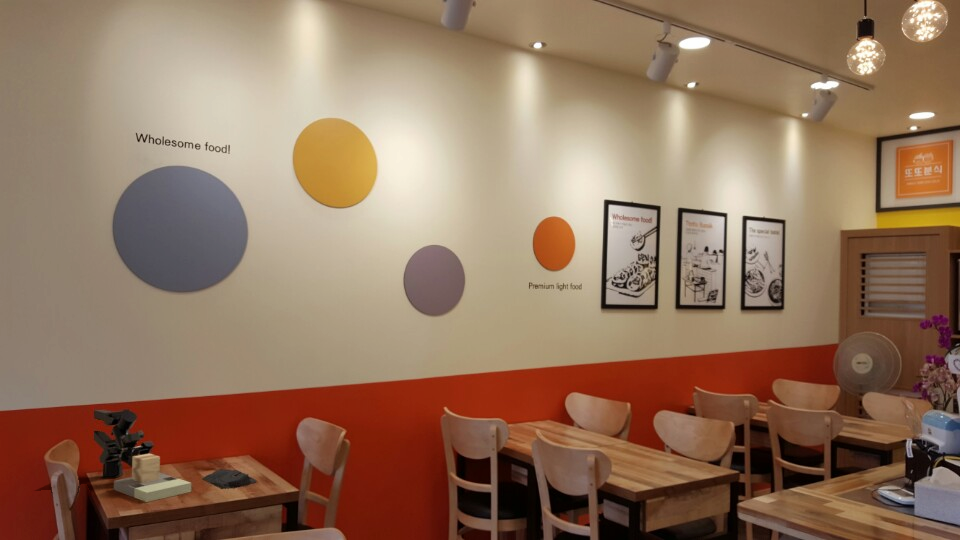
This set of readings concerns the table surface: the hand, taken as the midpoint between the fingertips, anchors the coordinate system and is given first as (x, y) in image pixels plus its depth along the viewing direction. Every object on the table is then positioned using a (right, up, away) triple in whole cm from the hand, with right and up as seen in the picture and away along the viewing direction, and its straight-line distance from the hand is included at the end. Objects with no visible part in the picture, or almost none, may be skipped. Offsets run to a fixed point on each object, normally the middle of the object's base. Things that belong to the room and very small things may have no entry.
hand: (135, 468), depth 288 cm
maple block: (+6, -3, -5) cm, 9 cm away
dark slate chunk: (+35, -8, +8) cm, 37 cm away
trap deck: (+11, -7, -8) cm, 15 cm away
